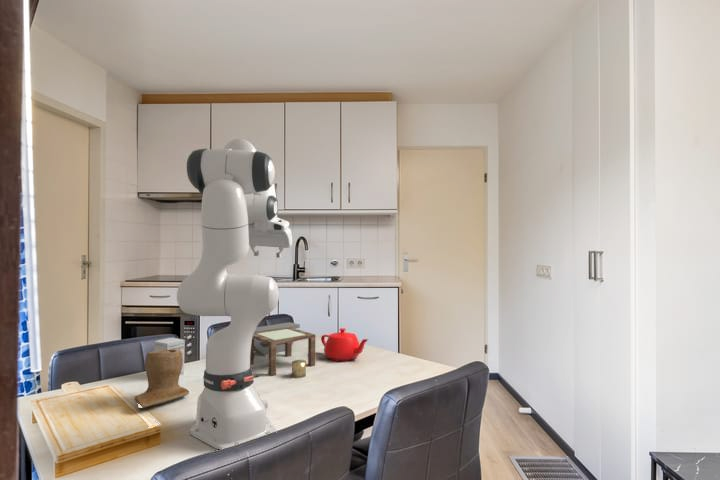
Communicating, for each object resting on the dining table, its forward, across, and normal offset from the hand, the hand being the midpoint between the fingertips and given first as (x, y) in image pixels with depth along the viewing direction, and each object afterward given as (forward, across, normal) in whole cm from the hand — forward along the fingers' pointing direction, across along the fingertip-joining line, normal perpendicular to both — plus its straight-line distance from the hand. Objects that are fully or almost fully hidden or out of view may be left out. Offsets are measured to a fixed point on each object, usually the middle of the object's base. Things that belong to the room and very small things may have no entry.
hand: (267, 256), depth 154 cm
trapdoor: (+30, +8, -10) cm, 32 cm away
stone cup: (+29, -15, -52) cm, 62 cm away
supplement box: (+36, -27, -32) cm, 55 cm away
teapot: (+43, +32, -1) cm, 54 cm away
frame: (+40, +9, -14) cm, 43 cm away
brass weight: (+36, +19, -25) cm, 48 cm away
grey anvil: (+47, -2, +3) cm, 47 cm away
